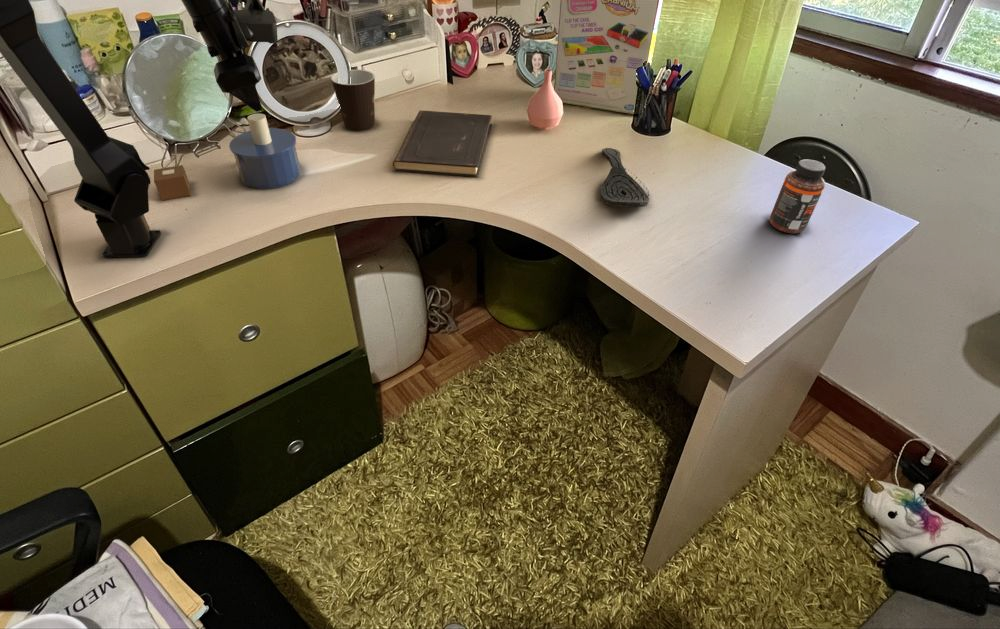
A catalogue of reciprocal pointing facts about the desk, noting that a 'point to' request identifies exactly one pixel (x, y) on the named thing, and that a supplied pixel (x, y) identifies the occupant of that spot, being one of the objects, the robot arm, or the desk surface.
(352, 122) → the coffee mug
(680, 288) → the desk surface
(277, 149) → the blue pot lid
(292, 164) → the blue round container
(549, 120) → the pink vase
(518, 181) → the desk surface
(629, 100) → the game box
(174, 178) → the small brown cardboard box
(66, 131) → the robot arm
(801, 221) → the supplement bottle
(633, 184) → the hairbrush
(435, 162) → the hardcover book
